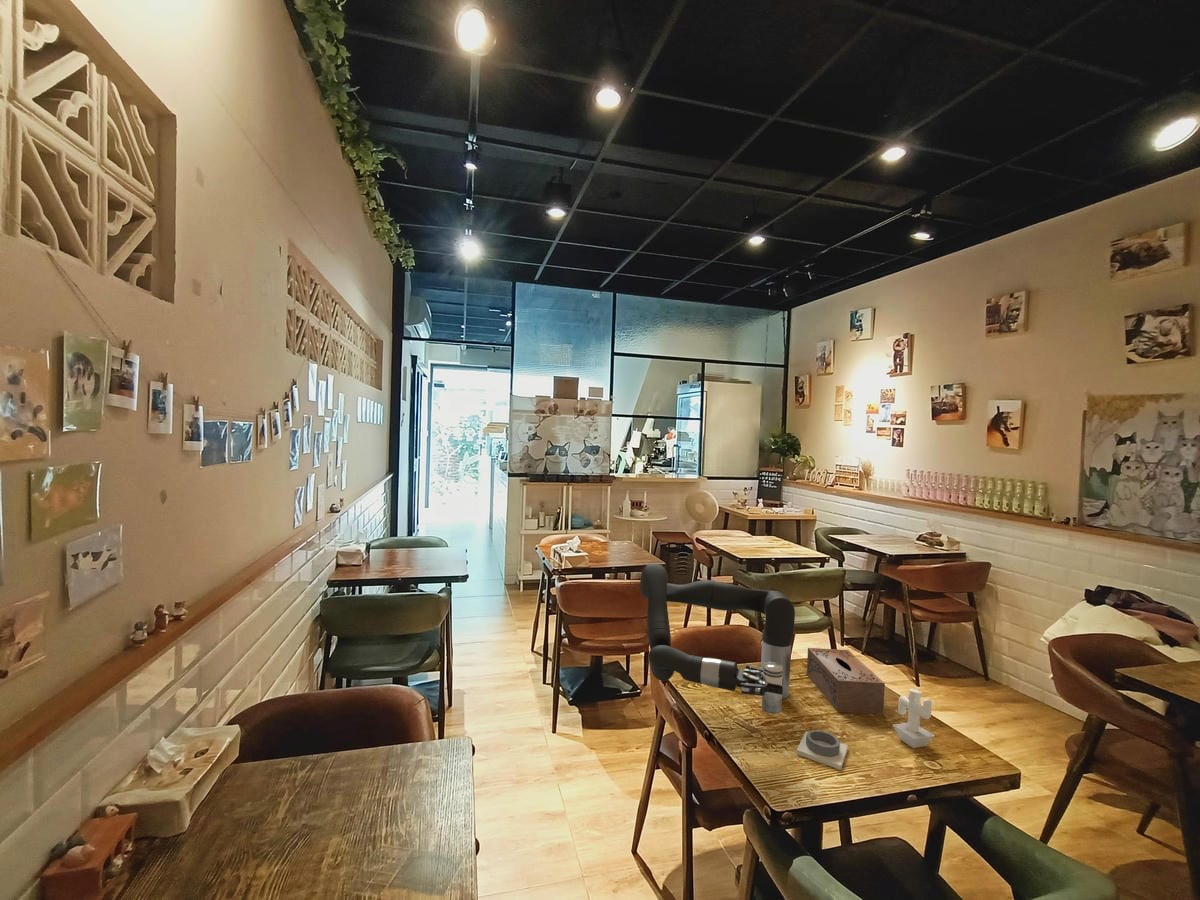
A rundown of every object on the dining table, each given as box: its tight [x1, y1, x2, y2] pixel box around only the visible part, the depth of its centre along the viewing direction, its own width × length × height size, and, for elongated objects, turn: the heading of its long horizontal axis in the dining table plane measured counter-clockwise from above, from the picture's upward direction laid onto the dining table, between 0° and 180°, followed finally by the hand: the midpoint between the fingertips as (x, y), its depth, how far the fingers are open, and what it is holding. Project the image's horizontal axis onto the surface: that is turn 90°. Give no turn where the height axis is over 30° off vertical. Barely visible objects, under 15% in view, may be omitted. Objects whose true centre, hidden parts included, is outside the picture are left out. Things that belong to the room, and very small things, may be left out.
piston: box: [761, 662, 783, 715], centre depth 139 cm, size 5×5×12 cm
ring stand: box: [795, 729, 849, 771], centre depth 140 cm, size 11×11×4 cm
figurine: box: [892, 688, 935, 749], centre depth 146 cm, size 7×9×15 cm
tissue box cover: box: [806, 647, 886, 715], centre depth 174 cm, size 26×14×10 cm, turn 178°
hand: (782, 685), depth 138 cm, fingers closed on piston, 5 cm apart
